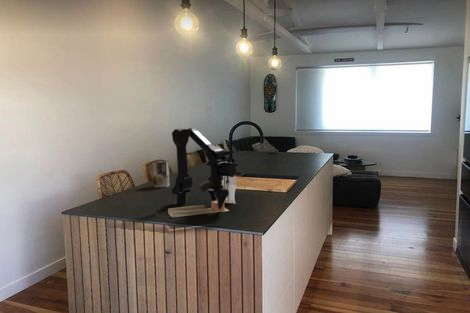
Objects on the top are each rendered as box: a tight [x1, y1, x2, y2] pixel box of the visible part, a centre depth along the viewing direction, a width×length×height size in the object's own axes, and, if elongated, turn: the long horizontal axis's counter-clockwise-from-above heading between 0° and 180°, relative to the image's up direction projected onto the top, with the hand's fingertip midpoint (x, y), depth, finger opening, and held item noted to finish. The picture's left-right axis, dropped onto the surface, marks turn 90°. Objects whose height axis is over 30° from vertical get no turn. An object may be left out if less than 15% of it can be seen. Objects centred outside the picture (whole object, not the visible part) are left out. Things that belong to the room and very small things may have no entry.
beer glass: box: [222, 175, 237, 204], centre depth 205 cm, size 7×7×15 cm
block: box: [210, 200, 226, 212], centre depth 189 cm, size 5×5×4 cm
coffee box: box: [152, 160, 170, 188], centre depth 252 cm, size 9×6×16 cm
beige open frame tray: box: [167, 204, 230, 218], centre depth 186 cm, size 8×28×3 cm, turn 113°
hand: (216, 206), depth 189 cm, fingers open, 9 cm apart
